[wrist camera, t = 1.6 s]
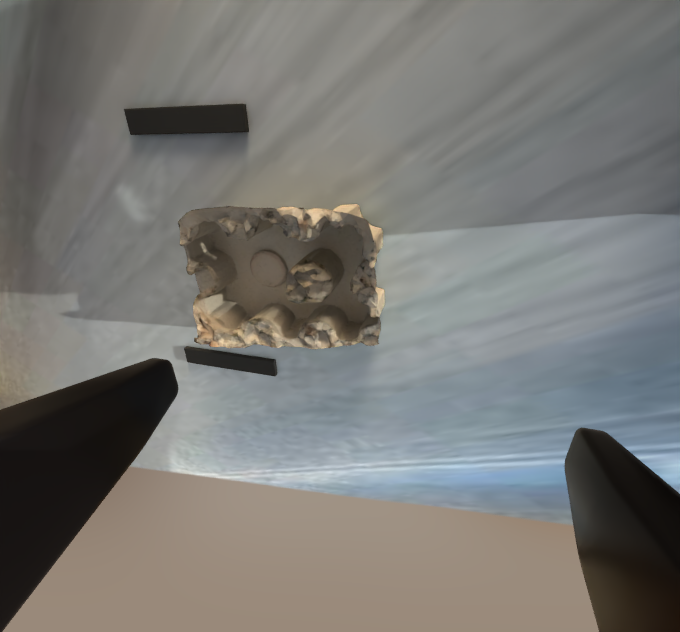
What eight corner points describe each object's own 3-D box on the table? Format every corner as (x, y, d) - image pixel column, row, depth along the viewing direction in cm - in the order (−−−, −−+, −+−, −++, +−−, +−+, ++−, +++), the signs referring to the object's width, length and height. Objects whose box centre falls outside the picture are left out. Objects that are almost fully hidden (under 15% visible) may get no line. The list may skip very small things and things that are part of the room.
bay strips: (245, 104, 17) (242, 103, 17) (277, 374, 24) (275, 376, 24) (128, 109, 19) (123, 109, 19) (190, 360, 26) (187, 362, 26)
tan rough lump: (226, 315, 23) (186, 347, 20) (203, 196, 20) (150, 209, 17) (387, 333, 21) (373, 374, 17) (392, 199, 17) (376, 215, 14)
